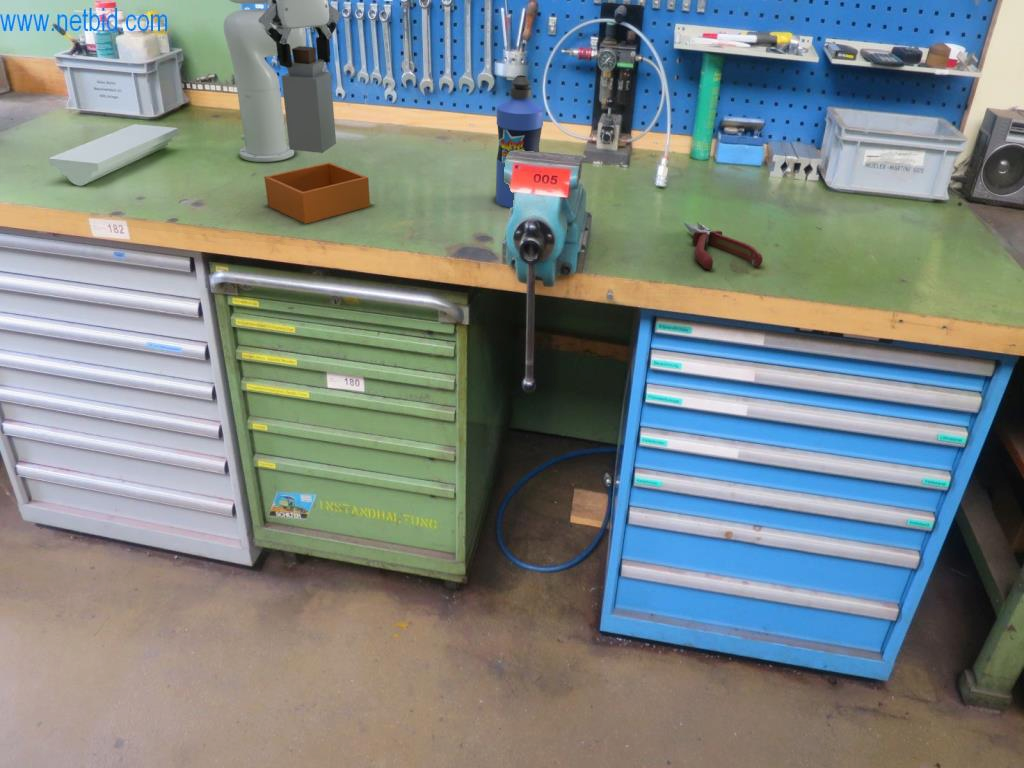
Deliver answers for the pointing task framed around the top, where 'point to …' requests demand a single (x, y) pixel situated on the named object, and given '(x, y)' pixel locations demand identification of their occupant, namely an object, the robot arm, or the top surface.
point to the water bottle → (516, 131)
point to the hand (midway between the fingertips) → (305, 63)
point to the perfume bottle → (308, 103)
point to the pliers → (720, 246)
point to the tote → (317, 192)
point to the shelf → (112, 152)
